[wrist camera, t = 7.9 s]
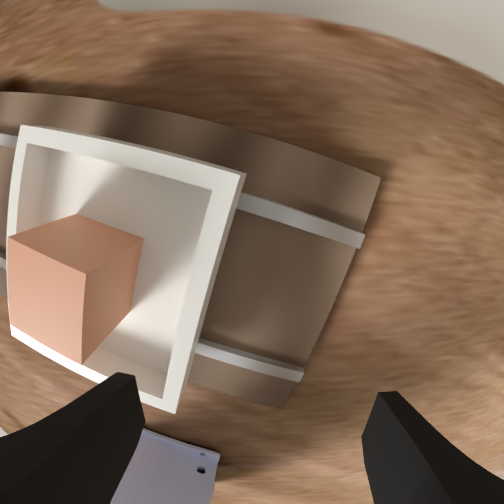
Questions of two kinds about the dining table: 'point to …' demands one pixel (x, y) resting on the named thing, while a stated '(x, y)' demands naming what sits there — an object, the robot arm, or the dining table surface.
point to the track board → (235, 234)
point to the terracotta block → (71, 283)
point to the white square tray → (141, 224)
